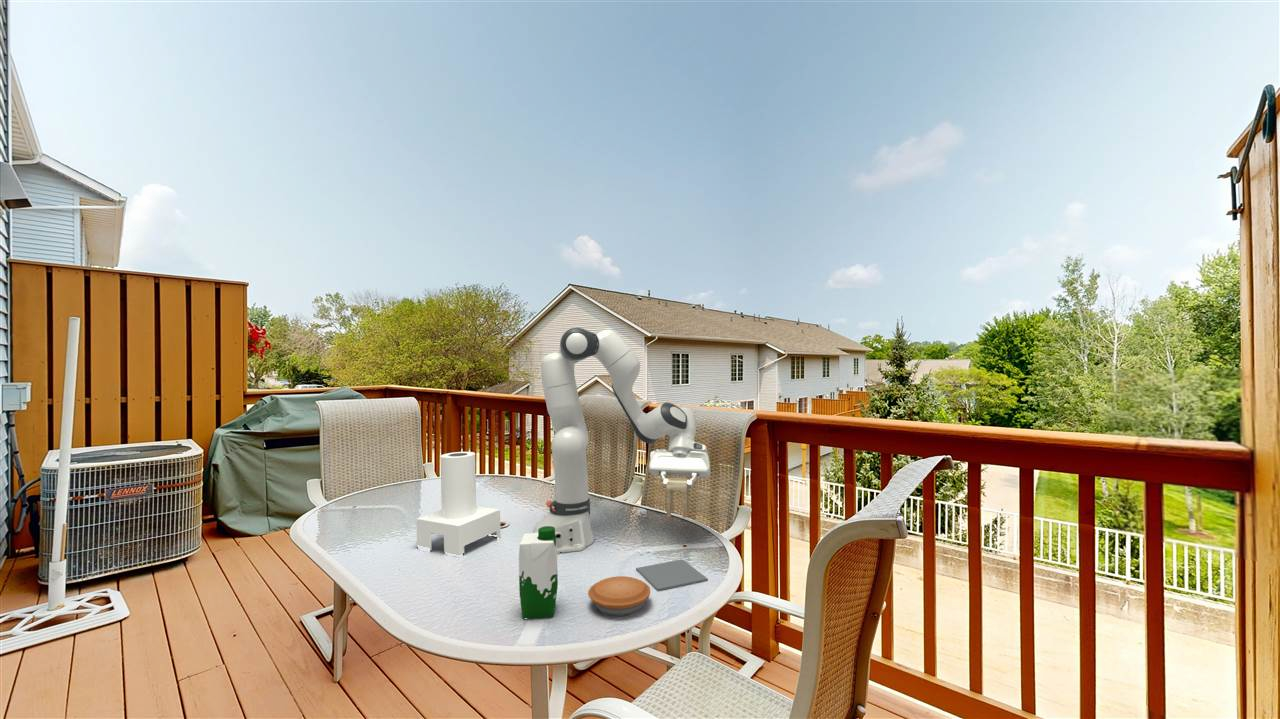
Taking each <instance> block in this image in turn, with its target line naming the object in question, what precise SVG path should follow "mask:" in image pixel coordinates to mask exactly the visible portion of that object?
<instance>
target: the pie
mask: <svg viewBox="0 0 1280 719" xmlns="http://www.w3.org/2000/svg"><path fill="white" fill-rule="evenodd" d="M587 596H588V597H589V599H590V600H591V601H592V602H593V604H594V606H595V607H596V609H597V610H598V611H599V612H601V613H602V614H604V615H607V616H613V617H621V616H628V615H632V614H635V613H636V612H638V611H640V610H641V608H642V607H643V605H644V604H645V603H646V600H647V599H648V598H649V597H650V596H651V587H650V585H648V584H647V583H646V582H644V581H643V580H641V579H638V578H635V577H632V576H625V575H624V576H622V575H620V576H617V575H616V576H612V577H611V576H610V577H607V578H604V579H601V580H599V581H597V582H595V583H594V584H593V585H591V587H590V588H588V591H587Z"/></svg>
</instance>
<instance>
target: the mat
mask: <svg viewBox="0 0 1280 719" xmlns="http://www.w3.org/2000/svg"><path fill="white" fill-rule="evenodd" d="M635 570H636V572H637V573H638V574H639V575H640V576H641V577H642V578H644V579H645V581H646V582H647V583H649V585H651V586H652V587H653V588H654V590H656V592H660V591H661V592H662V591H667V590H672V589H675V588H679V587H686V586H689V585H696V584H699V583H705V582H708V580H709V578H708V577H706V576H705V575H704V574H703V573H701V572H700V571H699V570H697V569H696V568H695V567H693V566H692V565H691V564H689V563H688V562H687V561H686V560H684V559H676V560H672V561H665V562H661V563H654V564H650V565H645V566H640V567H639V566H638V567H636V568H635Z"/></svg>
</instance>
